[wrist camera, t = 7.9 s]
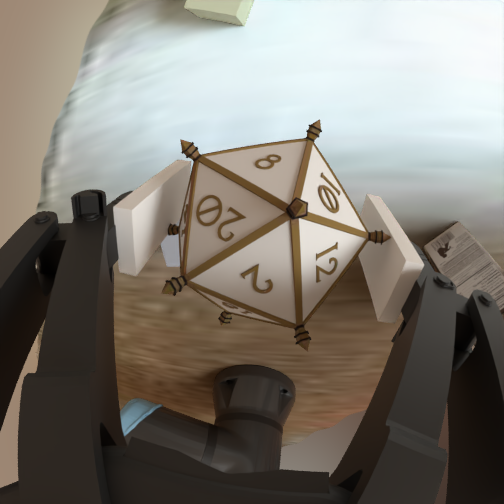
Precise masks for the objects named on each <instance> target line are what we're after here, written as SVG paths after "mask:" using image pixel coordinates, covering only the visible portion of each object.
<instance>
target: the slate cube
mask: <svg viewBox="0 0 504 504" xmlns="http://www.w3.org/2000/svg"><path fill="white" fill-rule="evenodd" d="M179 223H180V219H179V221H178V222H177V223H176V225H177V226H179ZM161 248H162V251H163V255H164V258H165V261H166V265H167V267H174V266H180V256H179V237H178V234H177V235H170V236H169V235H167V236H166V237H165V239H164V240H163V241H162V243H161Z"/></svg>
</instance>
